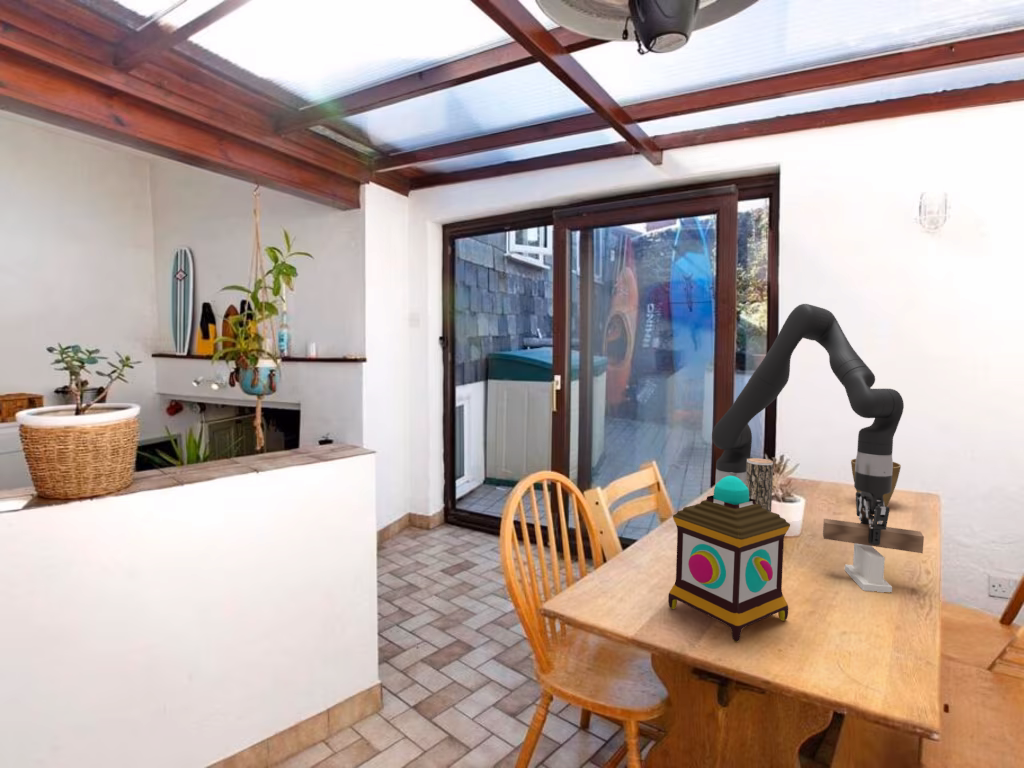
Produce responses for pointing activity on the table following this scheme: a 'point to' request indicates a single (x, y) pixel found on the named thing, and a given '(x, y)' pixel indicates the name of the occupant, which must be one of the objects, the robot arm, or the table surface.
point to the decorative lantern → (730, 558)
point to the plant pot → (894, 479)
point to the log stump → (760, 481)
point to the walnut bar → (860, 535)
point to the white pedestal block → (868, 569)
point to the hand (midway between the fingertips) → (869, 540)
